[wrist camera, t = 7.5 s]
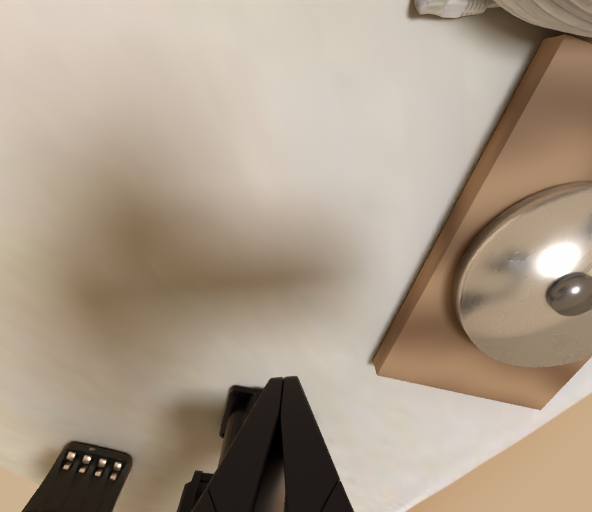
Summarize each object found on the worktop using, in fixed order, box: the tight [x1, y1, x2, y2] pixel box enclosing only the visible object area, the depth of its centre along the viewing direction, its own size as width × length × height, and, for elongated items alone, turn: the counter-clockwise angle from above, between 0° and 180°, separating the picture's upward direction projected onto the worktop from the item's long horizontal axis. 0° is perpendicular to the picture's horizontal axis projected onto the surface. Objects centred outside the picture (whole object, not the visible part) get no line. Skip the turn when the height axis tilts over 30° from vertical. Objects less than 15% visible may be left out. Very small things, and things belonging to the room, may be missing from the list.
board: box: [373, 34, 592, 410], centre depth 21 cm, size 22×14×2 cm, turn 164°
